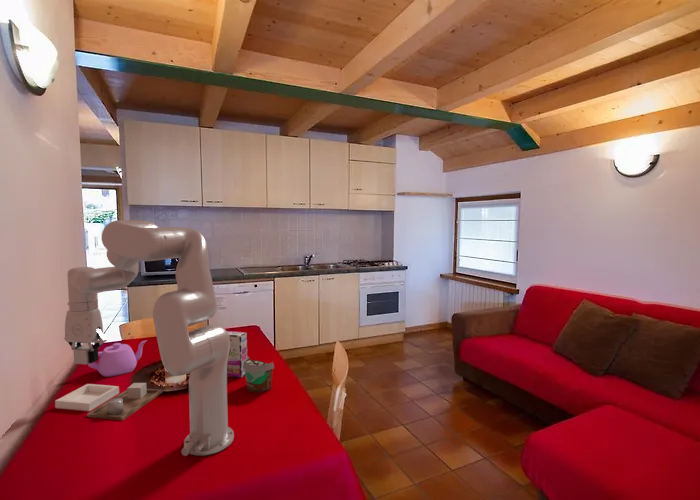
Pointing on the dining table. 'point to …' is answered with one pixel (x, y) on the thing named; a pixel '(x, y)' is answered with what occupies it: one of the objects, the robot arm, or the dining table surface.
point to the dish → (87, 397)
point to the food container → (258, 375)
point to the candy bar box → (237, 354)
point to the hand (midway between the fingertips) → (86, 360)
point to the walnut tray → (125, 405)
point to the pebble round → (115, 406)
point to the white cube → (137, 390)
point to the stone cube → (81, 355)
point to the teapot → (117, 359)
